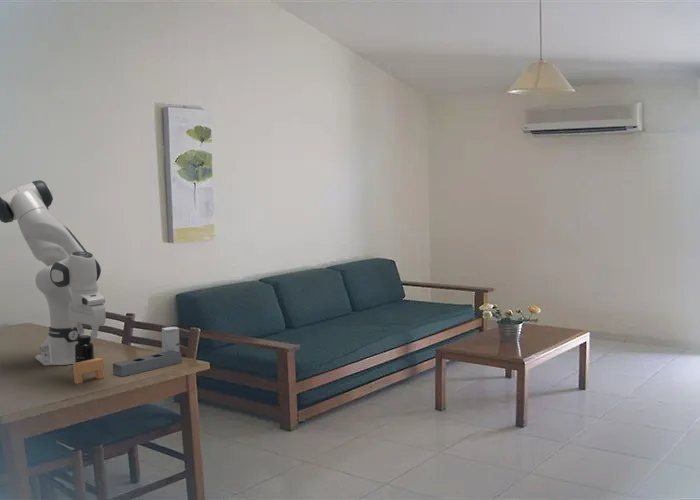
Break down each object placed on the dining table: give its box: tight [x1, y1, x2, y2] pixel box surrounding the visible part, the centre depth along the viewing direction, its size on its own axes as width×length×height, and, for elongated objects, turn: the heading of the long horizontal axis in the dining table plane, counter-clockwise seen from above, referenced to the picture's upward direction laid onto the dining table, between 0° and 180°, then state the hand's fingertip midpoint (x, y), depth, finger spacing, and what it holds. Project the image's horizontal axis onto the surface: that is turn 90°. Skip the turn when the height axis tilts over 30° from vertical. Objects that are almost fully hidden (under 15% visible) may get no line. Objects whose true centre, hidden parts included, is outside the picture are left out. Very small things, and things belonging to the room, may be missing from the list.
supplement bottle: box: [75, 334, 95, 363], centre depth 274 cm, size 7×7×12 cm
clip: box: [72, 357, 105, 385], centre depth 256 cm, size 3×10×7 cm, turn 138°
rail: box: [112, 350, 183, 378], centre depth 272 cm, size 6×26×4 cm, turn 138°
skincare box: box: [161, 326, 180, 353], centre depth 287 cm, size 6×4×12 cm
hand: (87, 335), depth 255 cm, fingers open, 8 cm apart
